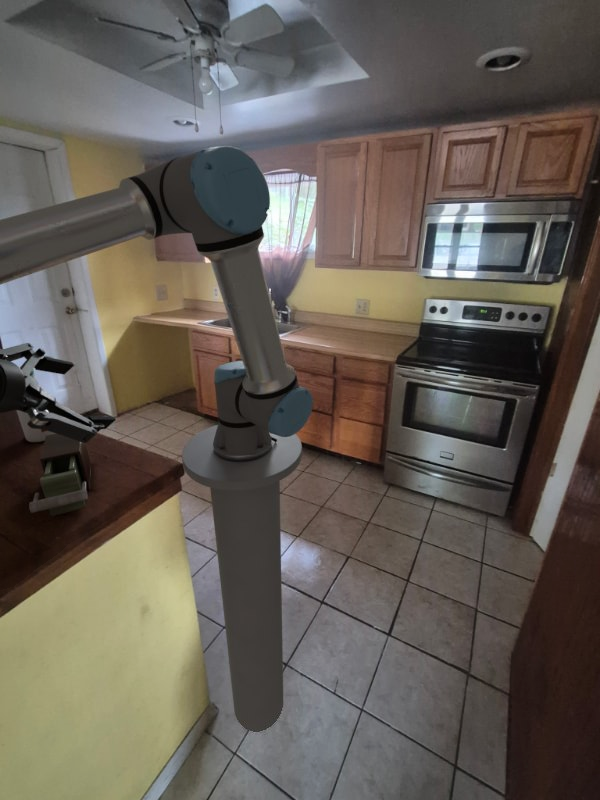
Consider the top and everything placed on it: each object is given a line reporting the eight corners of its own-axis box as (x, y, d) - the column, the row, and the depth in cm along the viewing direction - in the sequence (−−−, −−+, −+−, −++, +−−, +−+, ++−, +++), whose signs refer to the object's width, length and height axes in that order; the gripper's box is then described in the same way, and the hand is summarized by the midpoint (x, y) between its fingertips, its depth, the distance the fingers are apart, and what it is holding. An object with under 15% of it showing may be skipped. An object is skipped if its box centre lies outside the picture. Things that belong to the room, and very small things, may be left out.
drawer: (93, 521, 72) (83, 485, 69) (38, 536, 69) (25, 498, 65) (94, 479, 85) (85, 446, 82) (48, 489, 81) (37, 456, 78)
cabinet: (90, 490, 83) (79, 451, 78) (52, 499, 80) (39, 459, 76) (91, 465, 92) (81, 428, 88) (57, 472, 89) (46, 435, 85)
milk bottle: (32, 445, 100) (10, 376, 92) (21, 437, 104) (-1, 370, 96) (63, 435, 106) (44, 368, 98) (51, 427, 110) (32, 363, 102)
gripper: (-92, 333, 50) (37, 359, 71) (8, 476, 47) (112, 459, 68) (-53, 296, 50) (65, 333, 71) (50, 438, 47) (142, 433, 68)
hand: (88, 395), depth 70 cm, fingers open, 13 cm apart
